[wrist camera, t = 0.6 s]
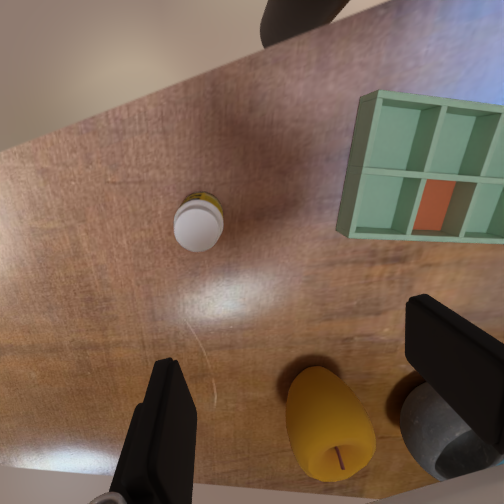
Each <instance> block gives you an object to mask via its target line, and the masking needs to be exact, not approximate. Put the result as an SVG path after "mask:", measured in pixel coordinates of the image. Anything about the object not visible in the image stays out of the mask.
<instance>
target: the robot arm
mask: <svg viewBox="0 0 504 504" xmlns="http://www.w3.org/2000/svg"><path fill="white" fill-rule="evenodd" d="M405 356H406V359H407V360H408V362H409V363H410V364H411V365H412V366H413V367H414V368H415V370H416V371H417V372H418V373H419V374H420V375H421V376H422V377H423V378H424V379H425V380H426V381H427V382H428V383H429V384H430V385H431V387H432V388H433V389H434V390H435V391H436V392H437V393H438V394H439V395H440V396H441V397H442V398H443V399H444V400H445V401H446V402H447V403H448V405H449V406H450V407H451V408H452V409H453V410H454V411H455V412H456V413H457V414H458V415H459V416H460V417H461V418H462V419H463V420H464V422H465V423H466V424H467V425H468V426H469V427H470V428H471V429H472V430H473V431H474V432H475V433H476V434H477V435H478V436H479V437H480V438H481V440H483V441H484V442H485V443H486V444H488V445H492V446H493V447H494V448H495V449H496V450H497V451H498V452H499V453H500V454H501V455H503V454H504V344H503V343H502V342H500V341H499V340H497V339H495V338H494V337H492V336H491V335H489V334H488V333H486V332H485V331H483V330H482V329H480V328H478V327H477V326H475V325H474V324H472V323H471V322H469V321H468V320H466V319H465V318H463V317H461V316H460V315H458V314H457V313H455V312H454V311H452V310H451V309H449V308H448V307H446V306H445V305H443V304H441V303H440V302H438V301H437V300H435V299H434V298H432V297H431V296H429V295H427V294H421V295H417V296H413V297H410V298H409V301H408V302H407V303H406V318H405ZM196 430H197V411H196V407H195V405H194V402H193V400H192V397H191V394H190V392H189V389H188V386H187V384H186V381H185V378H184V376H183V373H182V371H181V368H180V365H179V363H178V361H177V360H174V361H173V359H172V358H166V359H162V360H158V361H156V362H155V364H154V367H153V370H152V374H151V377H150V381H149V384H148V387H147V391H146V394H145V398H144V401H143V403H139V404H138V405H137V406H136V408H135V410H134V413H133V417H132V420H131V423H130V426H129V429H128V432H127V436H126V439H125V442H124V445H123V448H122V451H121V455H120V458H119V461H118V464H117V467H116V470H115V474H114V477H113V480H112V483H111V486H110V490H109V492H108V493H104V494H102V495H100V496H98V497H96V498H95V499H94V500H92V501H91V502H90V503H89V504H192V490H193V475H194V460H195V445H196ZM367 504H504V464H501V465H498V466H494V467H491V468H487V469H484V470H480V471H477V472H473V473H470V474H466V475H463V476H459V477H456V478H452V479H449V480H445V481H442V482H438V483H435V484H432V485H428V486H425V487H421V488H418V489H414V490H411V491H408V492H404V493H401V494H397V495H394V496H391V497H387V498H384V499H380V500H377V501H374V502H370V503H367Z"/></svg>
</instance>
